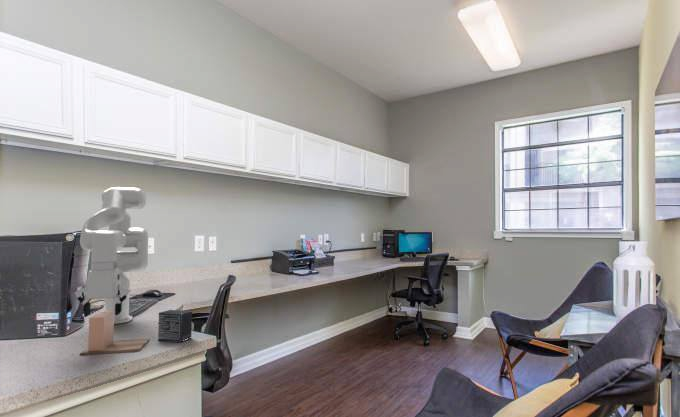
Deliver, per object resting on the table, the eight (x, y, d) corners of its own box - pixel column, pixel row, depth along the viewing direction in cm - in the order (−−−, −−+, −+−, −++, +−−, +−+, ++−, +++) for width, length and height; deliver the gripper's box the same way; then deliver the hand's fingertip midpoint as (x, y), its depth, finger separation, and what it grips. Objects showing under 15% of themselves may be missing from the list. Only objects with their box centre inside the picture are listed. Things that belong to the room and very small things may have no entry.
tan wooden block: (99, 342, 132) (100, 312, 132) (113, 341, 133) (114, 311, 133) (87, 350, 123) (89, 317, 124) (103, 349, 124) (104, 317, 125)
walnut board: (95, 344, 133) (95, 341, 133) (149, 340, 137) (149, 338, 137) (79, 355, 121) (80, 352, 121) (139, 351, 125) (139, 348, 125)
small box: (192, 338, 140) (193, 310, 141) (180, 343, 134) (181, 314, 135) (169, 335, 143) (170, 308, 144) (157, 340, 137) (157, 312, 138)
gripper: (134, 264, 135) (132, 311, 135) (81, 265, 131) (79, 313, 131) (127, 267, 128) (125, 316, 127) (71, 268, 124) (69, 318, 124)
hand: (102, 314), depth 129 cm, fingers open, 9 cm apart
